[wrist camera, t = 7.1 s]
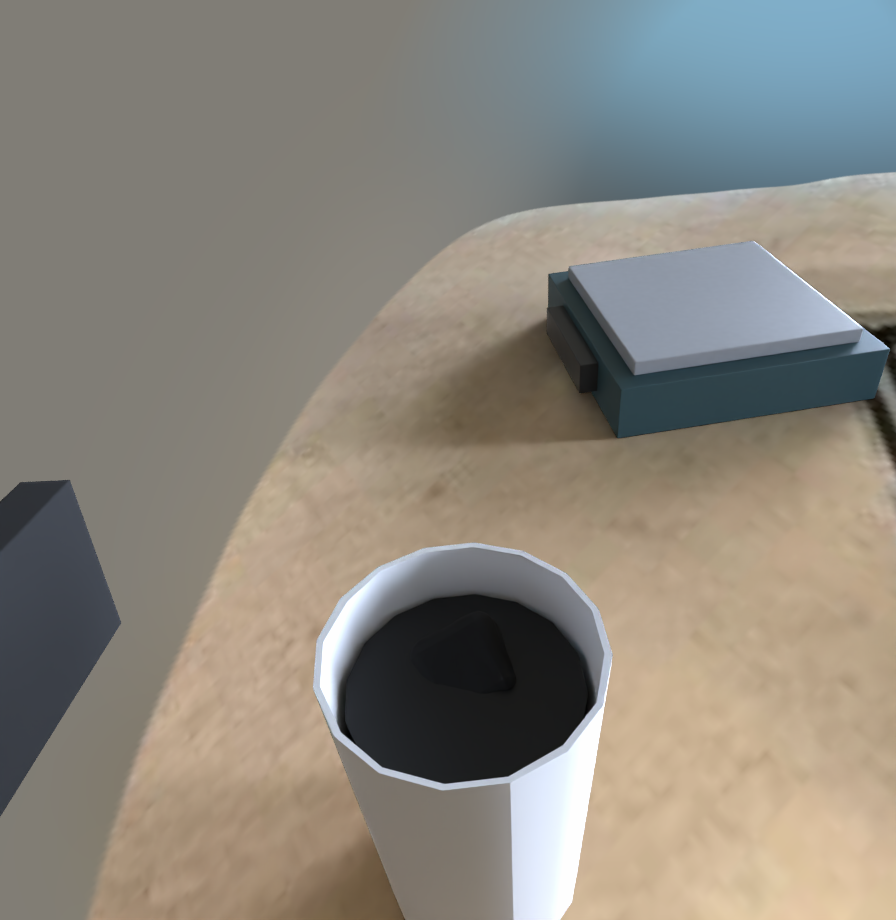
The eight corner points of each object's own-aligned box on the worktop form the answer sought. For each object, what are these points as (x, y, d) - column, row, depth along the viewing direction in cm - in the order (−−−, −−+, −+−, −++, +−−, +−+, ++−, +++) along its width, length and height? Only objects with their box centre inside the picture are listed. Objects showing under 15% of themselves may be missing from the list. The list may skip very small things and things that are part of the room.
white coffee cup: (356, 787, 25) (295, 580, 19) (544, 730, 26) (545, 517, 20) (400, 1017, 20) (337, 836, 14) (632, 934, 21) (670, 732, 15)
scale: (598, 441, 39) (601, 378, 36) (533, 318, 50) (532, 263, 47) (874, 398, 40) (895, 334, 37) (751, 287, 51) (761, 232, 48)
